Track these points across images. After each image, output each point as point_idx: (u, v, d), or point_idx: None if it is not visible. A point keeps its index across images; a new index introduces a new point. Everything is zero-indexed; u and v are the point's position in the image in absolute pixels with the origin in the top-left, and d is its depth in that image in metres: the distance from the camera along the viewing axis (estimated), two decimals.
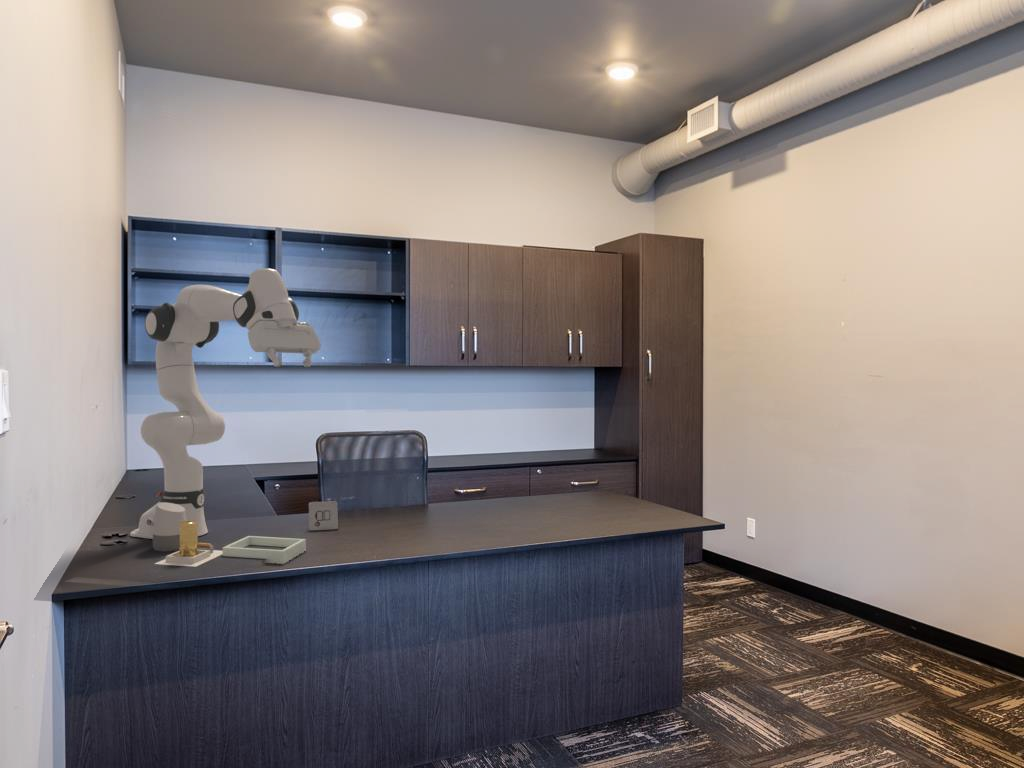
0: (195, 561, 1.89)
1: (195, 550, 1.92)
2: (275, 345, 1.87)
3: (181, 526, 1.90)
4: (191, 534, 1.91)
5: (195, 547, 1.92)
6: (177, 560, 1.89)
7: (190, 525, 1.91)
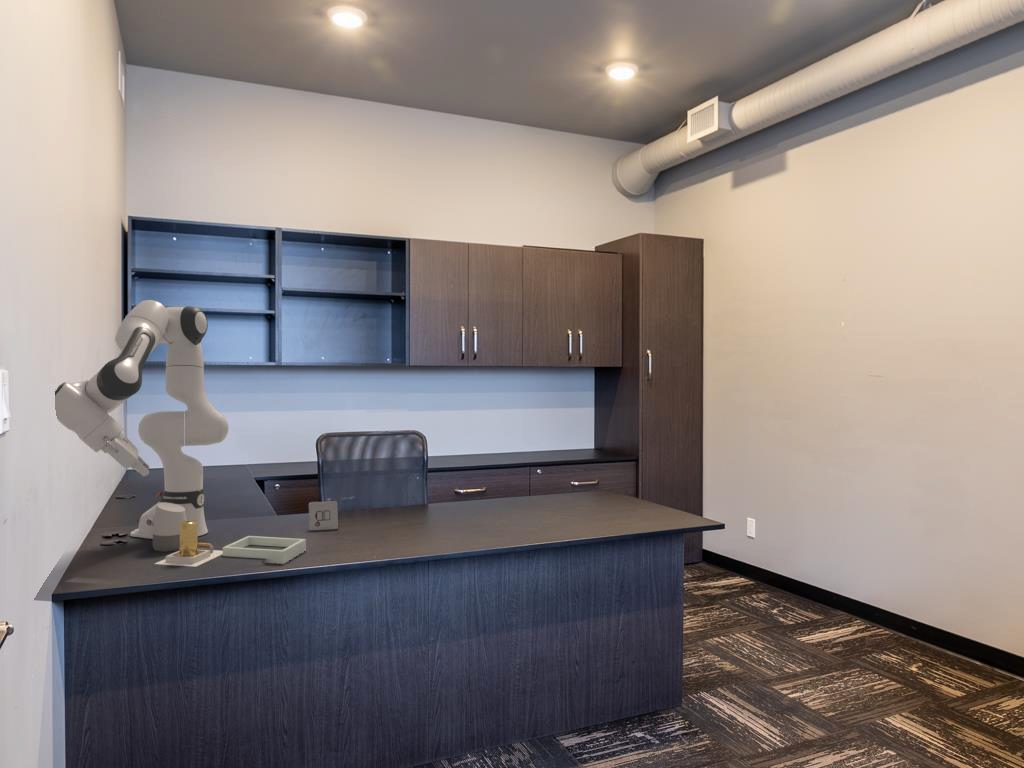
0: (195, 561, 1.89)
1: (195, 550, 1.92)
2: None
3: (181, 526, 1.90)
4: (191, 534, 1.91)
5: (195, 547, 1.92)
6: (177, 560, 1.89)
7: (190, 525, 1.91)
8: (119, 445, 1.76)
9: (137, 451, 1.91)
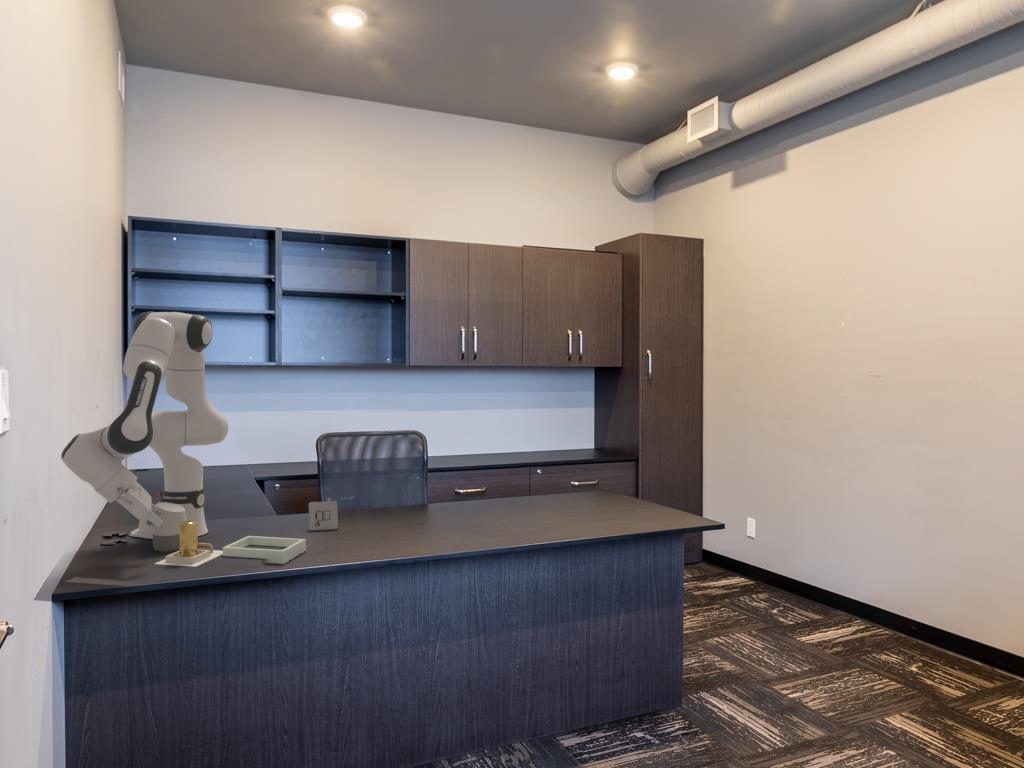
0: (195, 561, 1.89)
1: (195, 550, 1.92)
2: None
3: (181, 526, 1.90)
4: (191, 534, 1.91)
5: (195, 547, 1.92)
6: (177, 560, 1.89)
7: (190, 525, 1.91)
8: (133, 497, 1.78)
9: (150, 499, 1.92)
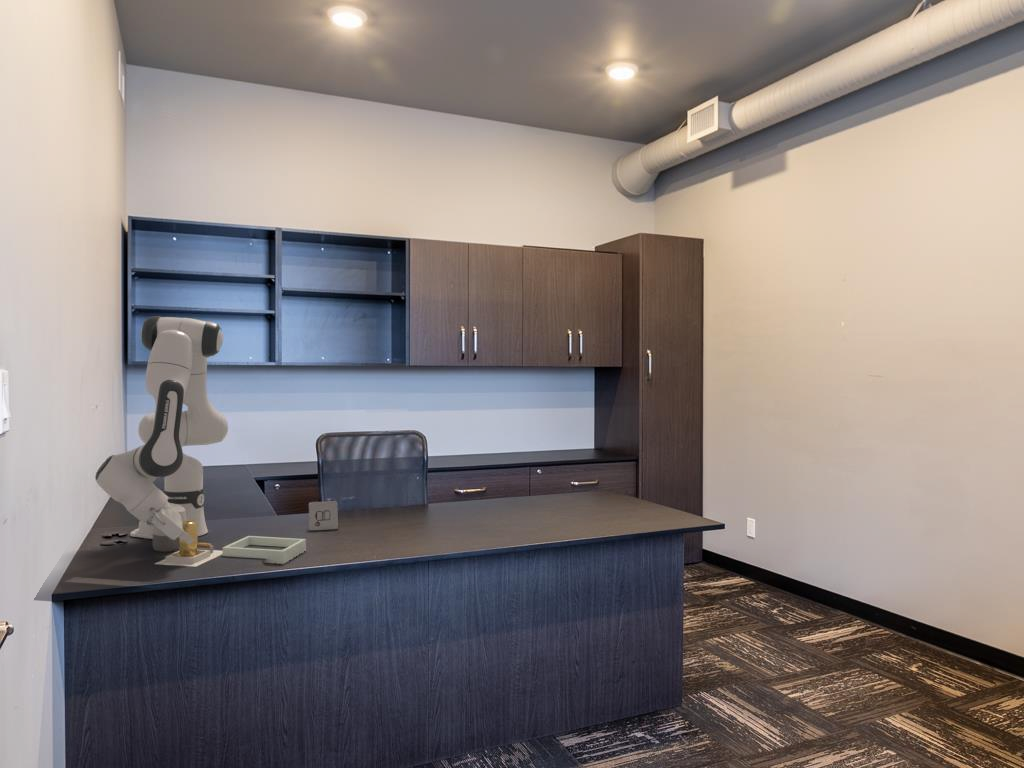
0: (195, 561, 1.89)
1: (195, 550, 1.92)
2: None
3: None
4: (191, 534, 1.91)
5: (195, 547, 1.92)
6: (177, 560, 1.89)
7: (190, 525, 1.91)
8: (166, 518, 1.81)
9: (180, 518, 1.96)
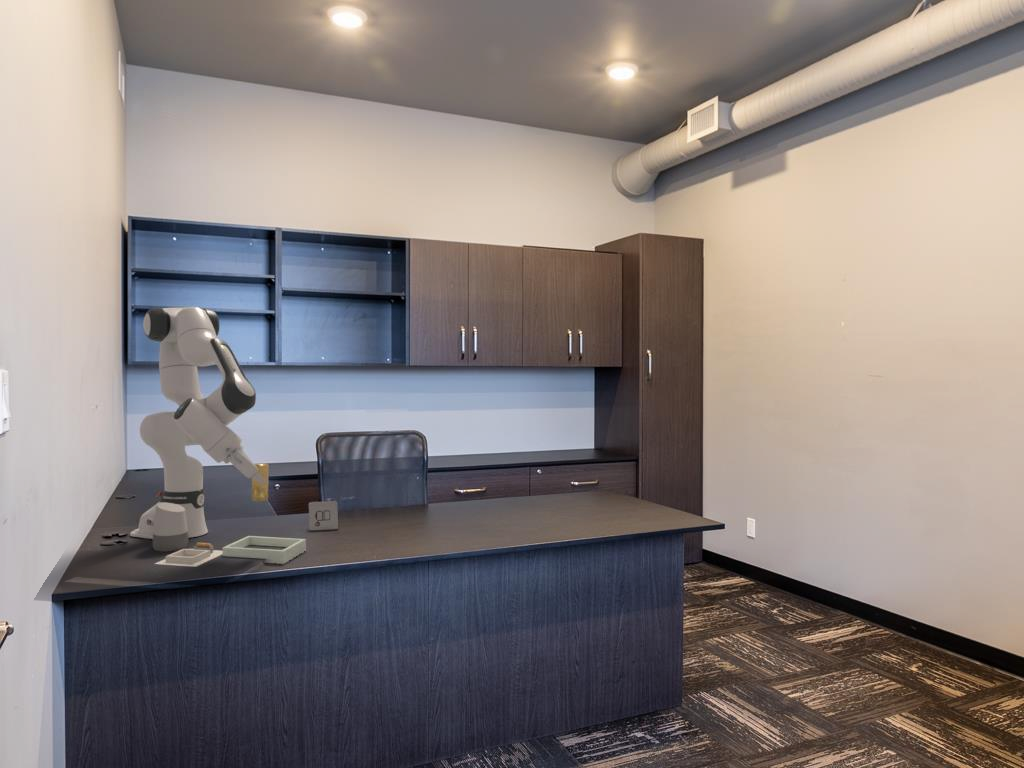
0: (195, 561, 1.89)
1: (266, 491, 2.00)
2: None
3: None
4: (263, 475, 1.99)
5: (266, 488, 2.00)
6: (177, 560, 1.89)
7: (262, 466, 1.99)
8: (242, 456, 1.90)
9: None
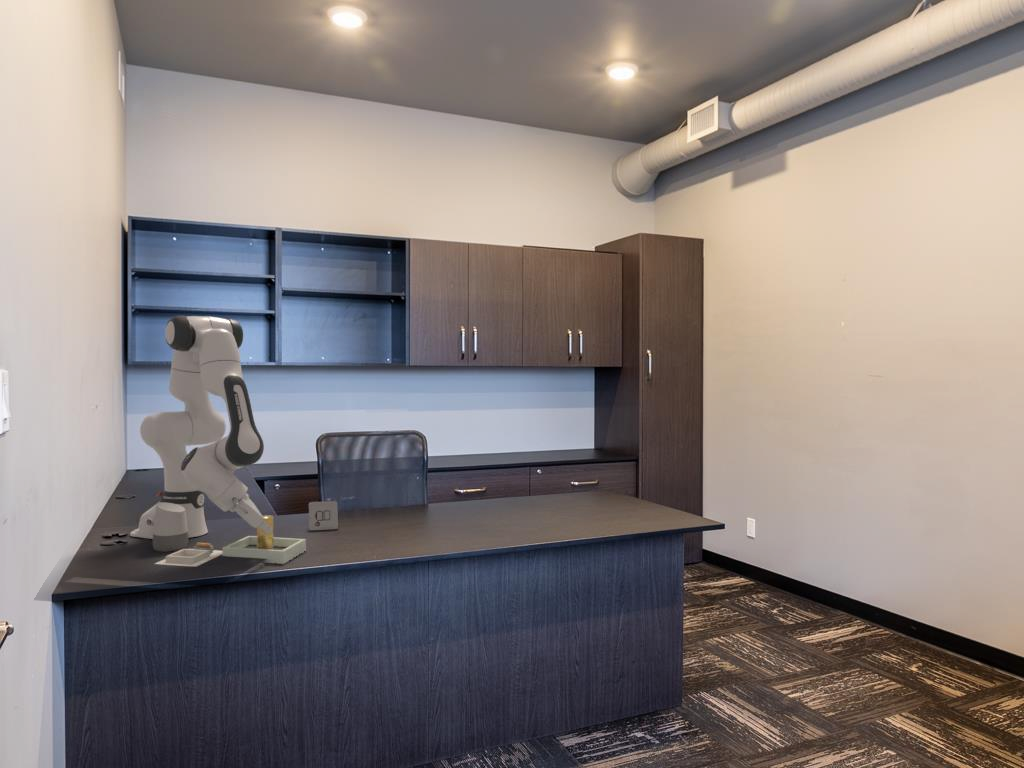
0: (195, 561, 1.89)
1: (272, 543, 2.02)
2: None
3: None
4: None
5: (272, 540, 2.02)
6: (177, 560, 1.89)
7: (267, 519, 2.00)
8: (248, 507, 1.91)
9: (256, 508, 2.05)
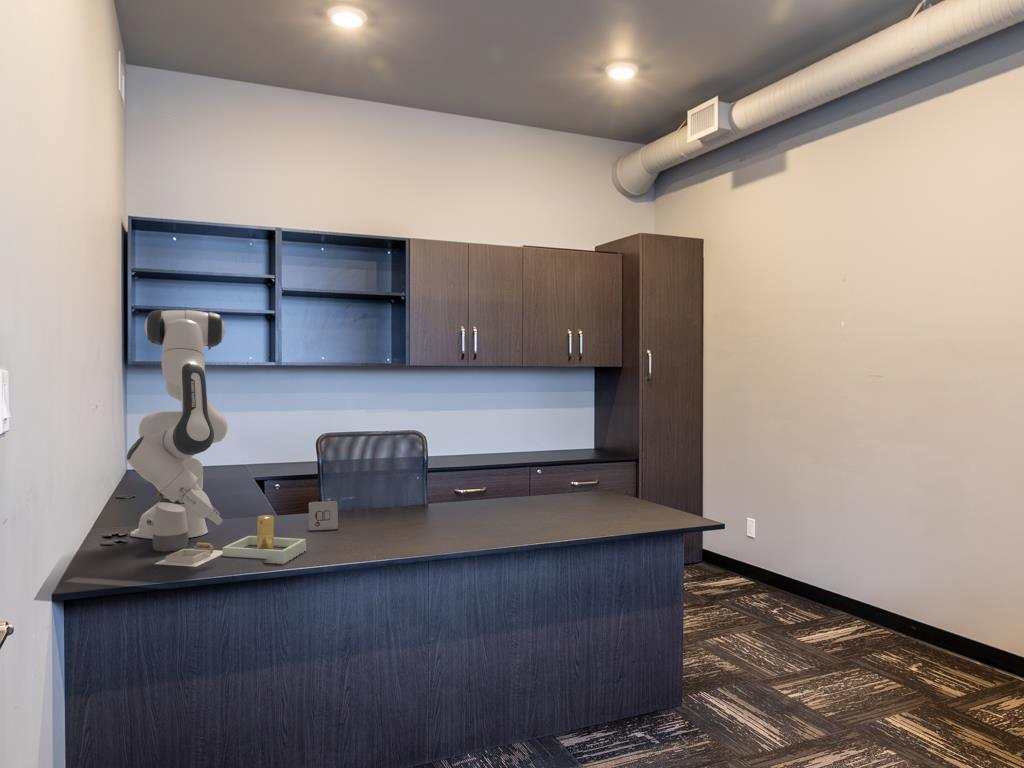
0: (195, 561, 1.89)
1: (272, 543, 2.02)
2: None
3: (259, 520, 2.00)
4: (268, 528, 2.00)
5: (272, 540, 2.02)
6: (177, 560, 1.89)
7: (268, 520, 2.00)
8: (196, 497, 1.85)
9: (208, 499, 1.99)
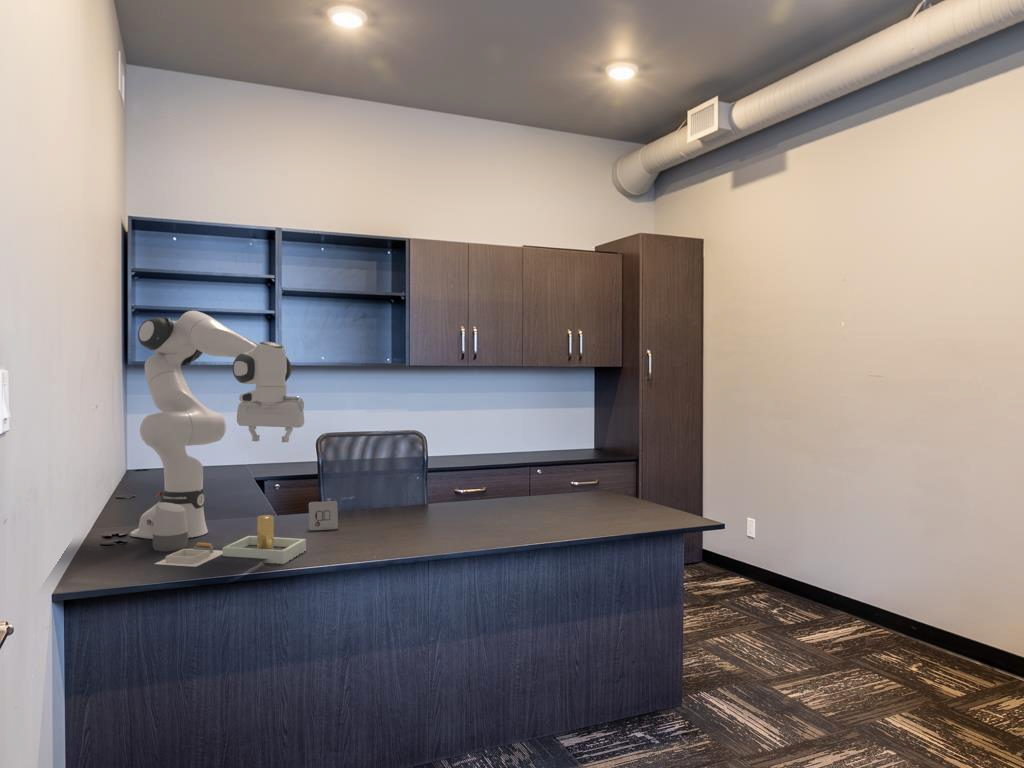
0: (195, 561, 1.89)
1: (272, 543, 2.02)
2: (251, 425, 2.13)
3: (259, 521, 2.00)
4: (269, 528, 2.00)
5: (272, 540, 2.02)
6: (177, 560, 1.89)
7: (268, 520, 2.00)
8: None
9: None
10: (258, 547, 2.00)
